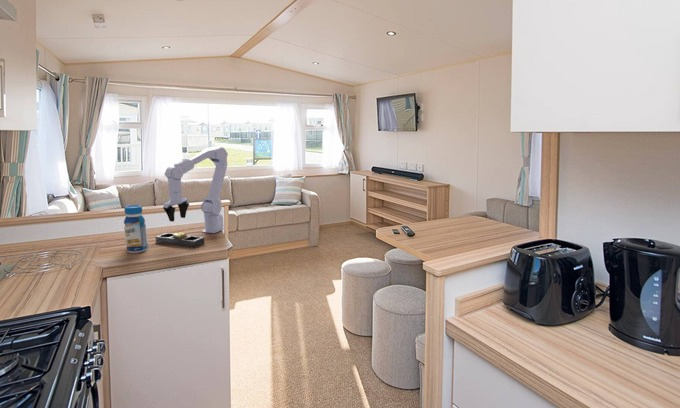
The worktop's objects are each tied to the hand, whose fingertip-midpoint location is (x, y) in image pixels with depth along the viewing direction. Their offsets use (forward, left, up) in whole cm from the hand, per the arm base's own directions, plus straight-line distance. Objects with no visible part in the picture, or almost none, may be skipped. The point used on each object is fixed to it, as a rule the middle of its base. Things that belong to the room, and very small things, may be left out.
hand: (177, 219), depth 188 cm
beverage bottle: (+20, -5, -10) cm, 23 cm away
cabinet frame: (+5, +5, -10) cm, 12 cm away
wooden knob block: (+5, +5, -9) cm, 12 cm away
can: (+14, -10, -10) cm, 20 cm away
